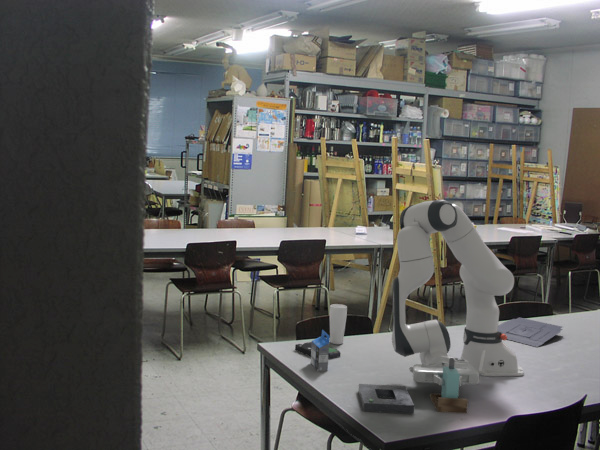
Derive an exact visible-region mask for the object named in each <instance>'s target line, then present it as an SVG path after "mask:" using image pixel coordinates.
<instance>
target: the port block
mask: <svg viewBox="0 0 600 450" xmlns="http://www.w3.org/2000/svg"><path fill="white" fill-rule="evenodd" d="M358 394H359V395H358V396H359V399H360V403H361V407H362V411H363V412H366V413H367V412H369V413H386V414H387V413H389V414H408V415H409V414H411V415H414V414H415V404H414V402H413V400H412V398H411V395H410V394H409V391H408V388H407V386H406V385H392V384H391V385H389V384H371V383H369V384H368V383H358ZM390 398H391V399H390Z"/></svg>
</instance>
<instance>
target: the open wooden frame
mask: <svg viewBox="0 0 600 450" xmlns="http://www.w3.org/2000/svg"><path fill="white" fill-rule="evenodd" d="M429 397H430V398H431V399H430V400H431V402H432V404H433V406H434V408H435V407H436V408H435V409H436V412H438V413H454V414H455V413H457V414H468V404H469V403H468V402H469V400H468V398H461V396H459V394H458V398H442V397H441V393H433V392H431V393H430V395H429Z"/></svg>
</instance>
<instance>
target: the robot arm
mask: <svg viewBox="0 0 600 450" xmlns="http://www.w3.org/2000/svg"><path fill="white" fill-rule="evenodd" d="M399 228H400V229H399V230H398V233H397V241H396V243H397V245H396V246H397V255H398V262H399V272H398V274H397V277H395V278H394V279H393V282H392V334H391V343H392V347H393V349H394V351H395V353H397V354H398V355H400V356H402V357H404V358H405V357H408V356H412V355H415V354H419V359H420V362H421V364H420V363H419V364H414V365H413V366H411V367H410V366H409V368H408V370H409V372H410V373H412V380H413V381H414V382H416V383H428V384H429V383H431V384H437V385H439V386H440V387H442V386H445V380H444V378H442V377H443V367H449V359H450V358H454V360H455V364H454V367H455V368H456V370H457V371H458V372H459V374H460V376H459V387H462V385H478V384H479V383H480V375H481V376H483V377H508V376H509V377H510V376H511V377H514V376H515V377H516V376H518V377H519V376H524V374H525V372H524V369H523V367H522V366H520V365H519V364H518V358H517V357H518V356H517V355H516V353H515V352H514V351H513V350H512V349H511V348H510V347H509V346H507V345H506V344H505V343H504V341H507V340H508V339H507V336H506V335H505V334H502V333H501V332H499V331H498V325H499V320H500V319H499V318H500V308H499V306H498V304H497V301H496V297H495V296H497V297H498V296H499V297H501V296H505V295H508V293H510V292H511V291H513V290H512V289H513V288H514V285H515V277H514V274H513V273H512V271H511V270H510V269H508V268H507V267H506V266H505V265H504V264H503V263H502V262H501V261H500V259H499V258H498V257H497V256H496V255H495V253H494V252H493V251H492V250H491V249H490V248H489V246H487V244H486V243H485V242H484V240H483V239H482V237H481V235H480V234H479V232H478V230H477V229H476V227H475V226H474V223H472V220H471V219H470V217H468V215H467V214H466V213H465V212H464V211H463V209H462V208H461V207H460V206H459V205H457V204H456V203H451V201H449V200H445V199H436V200H428V201H422V202H419V203H417V204H412V205H411V204H410V205H409V206H406V207H405V208H404V209H402V211H401V213H400V216H399ZM438 232H440V234H441V236H442V238H443V240H444V242H446V244H447V246H448V248H449V249H450V251H451V252H452V254H453V256H454V257H455V259H456V260H457V261H458V262H459V263H460V264H461V265H460V268H459V277H460V279H461V280H462V283H463V288H464V293H465V300H466V318H465V319H466V320H465V321H466V322H465V327H464V331H463V337H462V338H463V349H462V353H461V356H460V358H457V357H453V356H450V355H448V353H449V351H450V349H451V338H450V333H449V331H448V329H447V326H446V325H445V324H444V323H443V322H442V321H440V320H439V319H431V320H425V321H422V322H417V323H411V324H410V323H409V324H406V300H407V298H408V297H409V296H410V294H411V293H413V292H414V291H415V290H418V289H419V288H421V287H423V286H424V285H425V284H426V283H427V282H428V281H430V279H431V278H432V276H433V275H434V271H435V265H434V262H435V261H434V256H433V252H432V248H431V244H430V237H431V235H432V234H435V233H438Z"/></svg>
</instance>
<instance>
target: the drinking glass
mask: <svg viewBox="0 0 600 450" xmlns="http://www.w3.org/2000/svg"><path fill="white" fill-rule="evenodd" d="M347 312H348V306H347V305H345V304H340V303H339V304H338V303H334V304H332V303H331V304H330V306H329V336H330V340H329V343H330V344H332V345H342V344H343V343H344V338H345V336H344V335H345V331H346V323H347V316H348V314H347Z"/></svg>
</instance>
